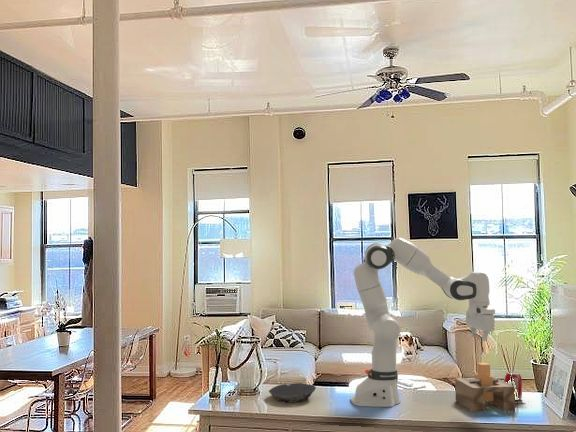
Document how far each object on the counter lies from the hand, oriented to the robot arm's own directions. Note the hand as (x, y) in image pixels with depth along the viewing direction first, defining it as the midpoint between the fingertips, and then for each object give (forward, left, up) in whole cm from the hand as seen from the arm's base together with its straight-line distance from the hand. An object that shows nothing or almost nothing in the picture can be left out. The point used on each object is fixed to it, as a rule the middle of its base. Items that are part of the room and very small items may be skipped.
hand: (479, 339), depth 242 cm
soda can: (+19, +6, -29) cm, 35 cm away
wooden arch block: (+1, -1, -29) cm, 29 cm away
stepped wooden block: (+1, -1, -26) cm, 26 cm away
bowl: (-82, +21, -29) cm, 89 cm away
